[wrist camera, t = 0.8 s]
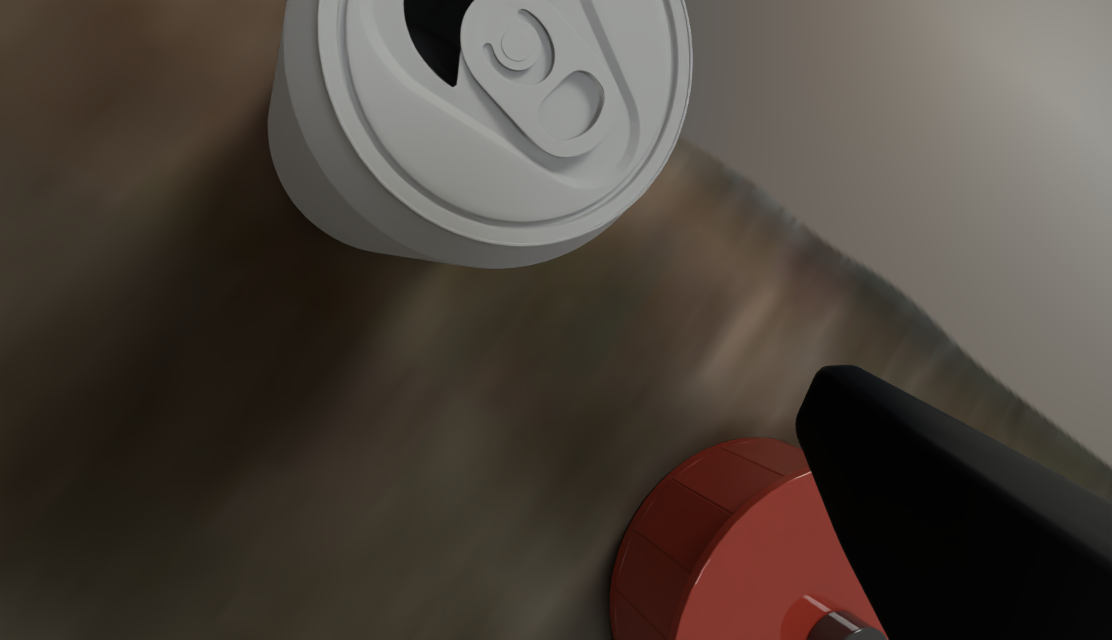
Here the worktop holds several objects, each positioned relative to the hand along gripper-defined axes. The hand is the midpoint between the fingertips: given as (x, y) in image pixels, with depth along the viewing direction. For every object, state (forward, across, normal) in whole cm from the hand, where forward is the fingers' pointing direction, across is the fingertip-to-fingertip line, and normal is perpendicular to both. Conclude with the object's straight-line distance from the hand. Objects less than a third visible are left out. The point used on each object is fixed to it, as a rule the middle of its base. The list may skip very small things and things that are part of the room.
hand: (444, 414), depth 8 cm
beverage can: (+16, -1, +4) cm, 16 cm away
